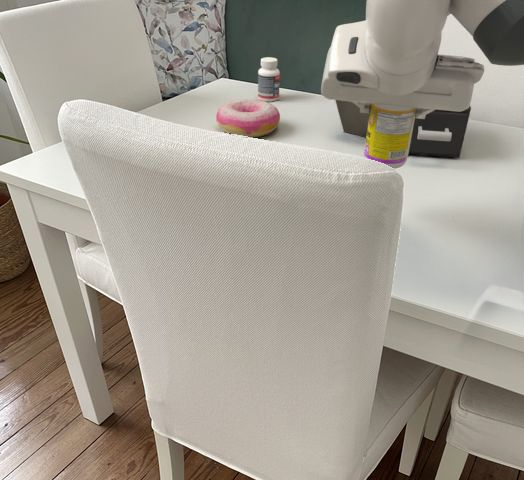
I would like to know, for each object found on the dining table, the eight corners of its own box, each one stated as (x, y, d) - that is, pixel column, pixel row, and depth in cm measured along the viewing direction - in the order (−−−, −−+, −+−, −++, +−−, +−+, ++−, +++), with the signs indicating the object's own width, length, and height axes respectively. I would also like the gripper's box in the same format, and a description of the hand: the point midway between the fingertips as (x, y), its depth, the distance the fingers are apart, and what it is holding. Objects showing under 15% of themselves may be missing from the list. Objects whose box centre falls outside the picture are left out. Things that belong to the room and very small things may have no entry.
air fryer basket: (459, 164, 109) (470, 123, 103) (399, 160, 110) (406, 119, 105) (452, 131, 122) (460, 93, 117) (398, 127, 123) (404, 89, 118)
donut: (205, 133, 122) (203, 109, 119) (236, 115, 131) (236, 92, 128) (260, 145, 117) (260, 120, 114) (289, 125, 126) (290, 102, 123)
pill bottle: (277, 102, 138) (278, 62, 132) (256, 101, 139) (256, 61, 133) (280, 95, 142) (281, 57, 136) (259, 94, 143) (260, 55, 137)
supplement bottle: (370, 150, 91) (383, 63, 83) (411, 158, 89) (428, 70, 81) (357, 165, 87) (369, 75, 78) (399, 174, 85) (416, 82, 76)
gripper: (492, 36, 69) (468, 97, 82) (324, 24, 72) (328, 84, 86) (483, 86, 68) (461, 139, 82) (315, 72, 72) (321, 124, 85)
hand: (392, 111), depth 84 cm, fingers closed on supplement bottle, 6 cm apart
